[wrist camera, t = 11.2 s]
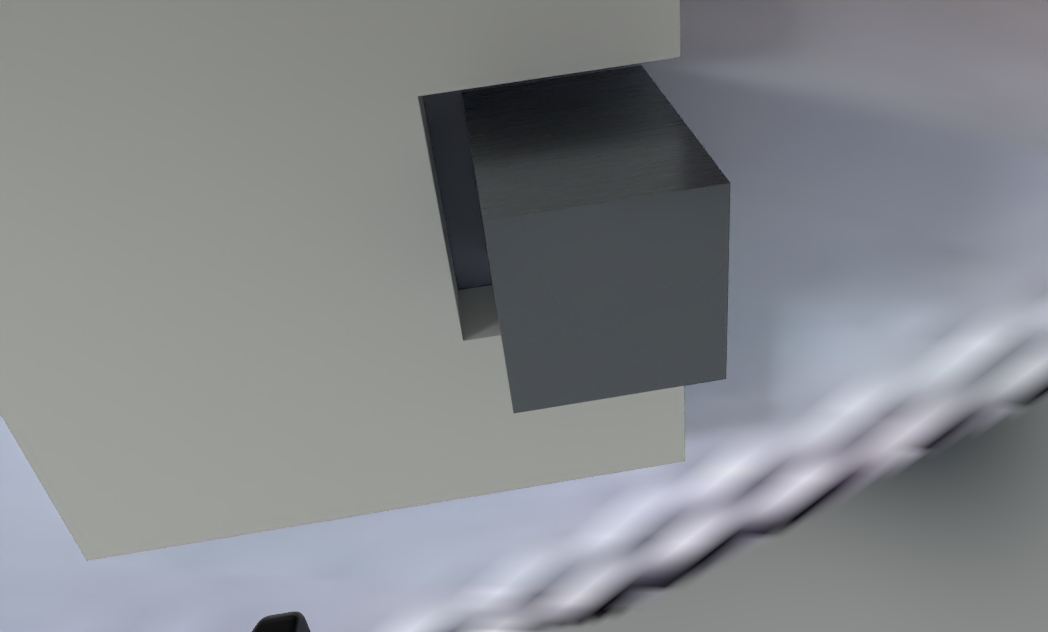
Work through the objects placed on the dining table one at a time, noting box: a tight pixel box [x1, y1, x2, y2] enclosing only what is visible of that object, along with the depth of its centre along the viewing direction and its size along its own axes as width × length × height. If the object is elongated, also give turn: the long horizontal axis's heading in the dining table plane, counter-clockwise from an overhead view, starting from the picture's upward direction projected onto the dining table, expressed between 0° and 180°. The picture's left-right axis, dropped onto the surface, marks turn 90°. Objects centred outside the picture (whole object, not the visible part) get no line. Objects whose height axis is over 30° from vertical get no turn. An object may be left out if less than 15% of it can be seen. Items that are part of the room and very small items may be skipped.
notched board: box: [0, 0, 685, 561], centre depth 17 cm, size 14×14×2 cm
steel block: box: [462, 66, 730, 413], centre depth 16 cm, size 4×4×6 cm
